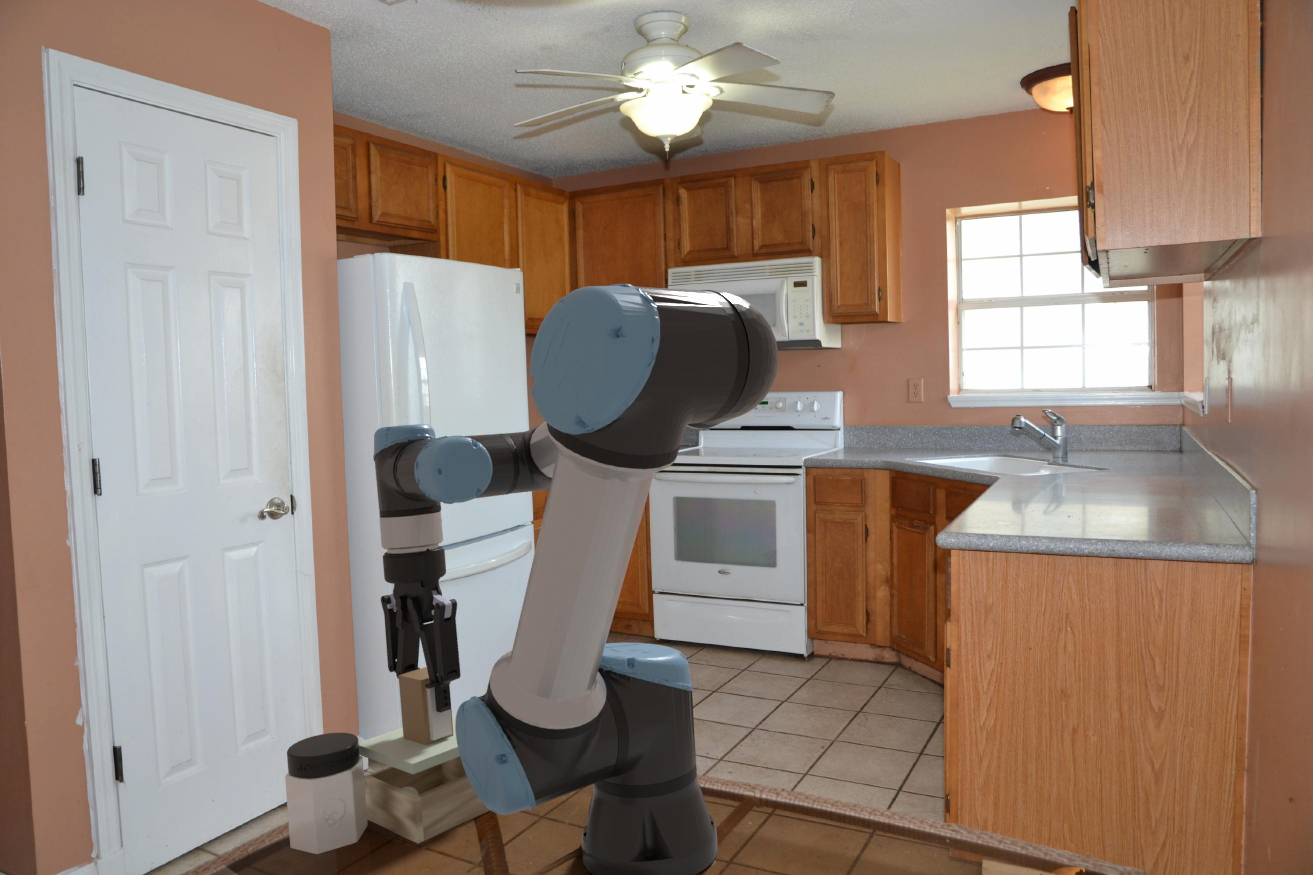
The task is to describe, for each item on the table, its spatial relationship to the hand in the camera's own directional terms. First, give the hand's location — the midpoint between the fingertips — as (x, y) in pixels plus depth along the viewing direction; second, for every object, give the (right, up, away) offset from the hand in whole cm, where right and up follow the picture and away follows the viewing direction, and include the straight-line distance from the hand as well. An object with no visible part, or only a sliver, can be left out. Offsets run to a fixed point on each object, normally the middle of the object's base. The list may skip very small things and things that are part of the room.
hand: (428, 732), depth 112 cm
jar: (-11, -12, -4) cm, 17 cm away
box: (0, -11, +1) cm, 11 cm away
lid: (0, -2, 0) cm, 2 cm away
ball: (-3, -10, +1) cm, 11 cm away
